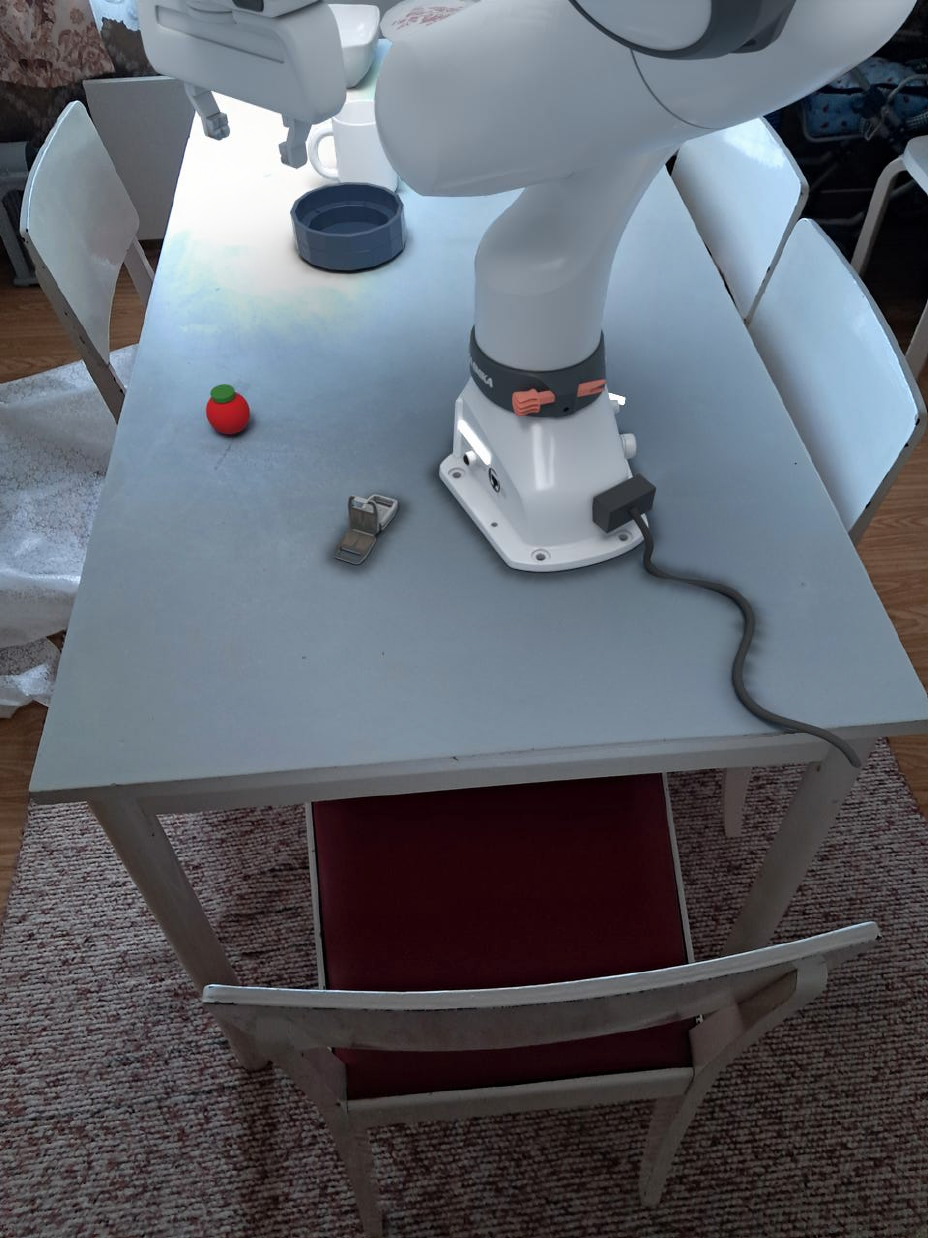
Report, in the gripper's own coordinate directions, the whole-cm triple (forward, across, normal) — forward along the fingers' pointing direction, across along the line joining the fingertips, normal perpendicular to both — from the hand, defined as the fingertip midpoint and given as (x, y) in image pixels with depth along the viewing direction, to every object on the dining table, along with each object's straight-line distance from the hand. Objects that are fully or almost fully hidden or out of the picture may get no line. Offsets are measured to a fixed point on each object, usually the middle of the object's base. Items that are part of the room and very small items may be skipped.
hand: (255, 150), depth 76 cm
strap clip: (+25, +21, -13) cm, 35 cm away
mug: (+25, -25, +38) cm, 52 cm away
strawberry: (+25, -1, -10) cm, 27 cm away
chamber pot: (+25, -19, +60) cm, 68 cm away
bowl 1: (+25, -58, +68) cm, 93 cm away
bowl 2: (+25, -15, +26) cm, 39 cm away
